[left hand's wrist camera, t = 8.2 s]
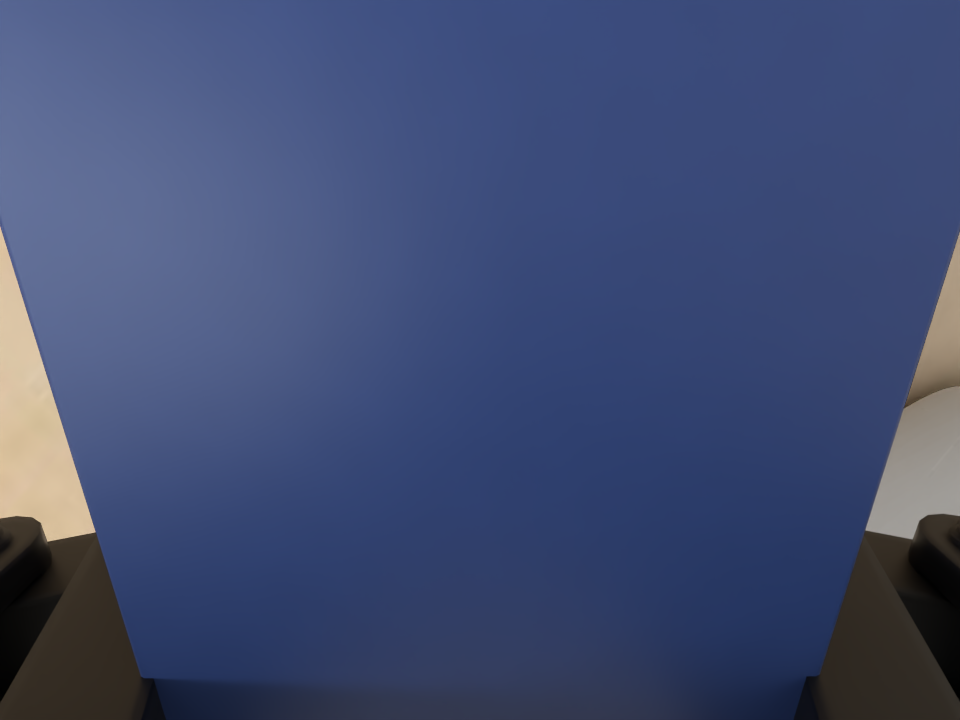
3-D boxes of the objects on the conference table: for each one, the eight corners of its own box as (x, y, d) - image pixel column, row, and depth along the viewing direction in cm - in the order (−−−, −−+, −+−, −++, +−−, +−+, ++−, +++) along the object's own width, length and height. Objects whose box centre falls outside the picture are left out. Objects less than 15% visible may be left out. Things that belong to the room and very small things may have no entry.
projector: (1018, 667, 32) (1430, 1045, 18) (655, 741, 34) (774, 1125, 20) (1041, 347, 24) (1765, 571, 11) (578, 469, 27) (680, 782, 13)
